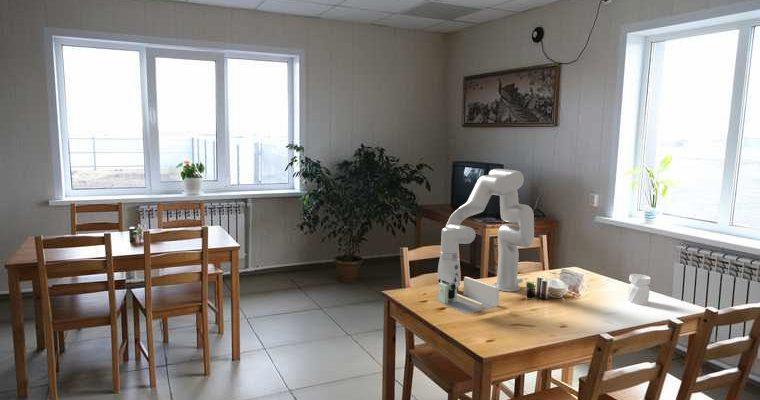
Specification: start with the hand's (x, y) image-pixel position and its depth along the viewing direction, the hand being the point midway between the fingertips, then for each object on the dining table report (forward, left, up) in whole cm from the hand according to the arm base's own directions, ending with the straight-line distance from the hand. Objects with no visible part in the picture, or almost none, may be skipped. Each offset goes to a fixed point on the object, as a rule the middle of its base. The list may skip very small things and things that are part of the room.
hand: (447, 296), depth 228 cm
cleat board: (-5, +6, -4) cm, 9 cm away
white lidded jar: (-80, +41, -4) cm, 90 cm away
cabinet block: (0, 0, -2) cm, 2 cm away
